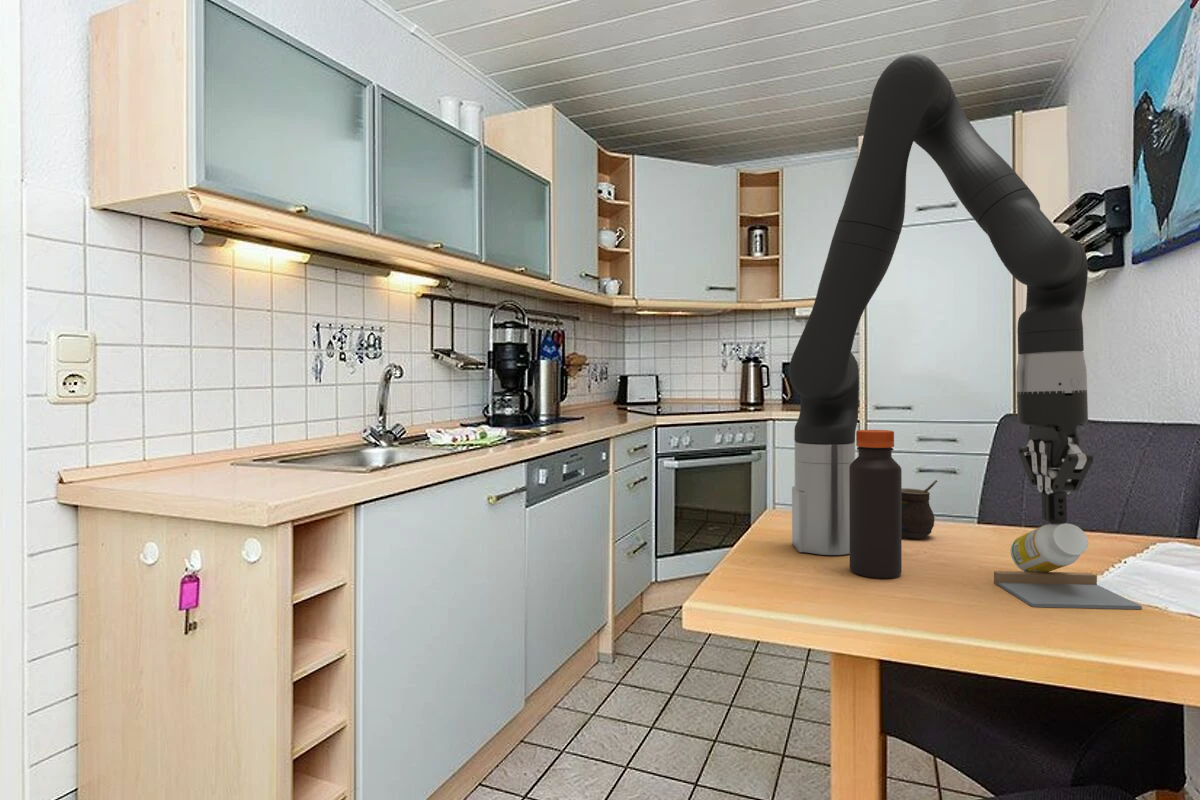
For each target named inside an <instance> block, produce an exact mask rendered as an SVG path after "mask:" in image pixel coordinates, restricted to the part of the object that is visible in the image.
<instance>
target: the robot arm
mask: <svg viewBox="0 0 1200 800" xmlns="http://www.w3.org/2000/svg"><path fill="white" fill-rule="evenodd" d="M869 103H870V104H869V109H868V112H867V113H868V114H867V119H866V124H865V128H864V132H863V137H862V141H861V145H860V146H861V147H860V150H859V154H858V157H857V161H856V165H855V167H854V171H853V173H852V177H851V181H850V183H849V187H848V190H847V194H846V196H845V200H844V201H843V202H844V203H843V205H842V208H841V211H840V214H839V217H838V220H837V223H836V226H835V230H834V233H833V236H832V238H831V243H830V245H829V250H828V253H827V257H826V260H825V263H824V267H823V270H822V273H821V277H820V281H819V284H818V288H817V292H816V295H815V296H816V297H815V299H814V303H813V306H812V309H811V312H810V314H809V317H808V318H807V319H808V320H807V321H806V324H805V326H804V328H803V331H802V333H801V335H800V338H799V340H798V343H797V345H796V347H795V349H794V351H793V354H792V356H791V360H790V363H789V366H788V367H789V368H788V377H789V381H790V384H791V385H792V387H793V389H794V390H795V392H796V393H797V394H798V395H800V407H799V408H800V409H799V410H800V411H799V416H798V419H797V421H796V423H795V426H794V436H793V438H794V486H792V488H791V523H792V524H791V537H792V538H791V541H792V542H791V544H792V545H793V546H794V548H795V549H796V550H797V551H798V553H807V554H808V553H809V554H815V555H823V556H842V555H843V556H844V555H850V520H849V467H850V464H851V463H852V462H853V461H854V460H855V459H856V431H857V426H858V422H859V393H860V391H859V389H860V380H859V379H860V374H859V373H860V372H859V365H858V362H857V360H856V356H855V355H854V353H853V352H852V348H853V345H854V340H855V336H856V333H857V329H858V327H859V323H860V321H861V319H862V316H863V313H864V311H865V309H866V307H867V306H868V305H869V303H870V301H871V299H872V297H873V296H874V294H875V292H876V291H877V290H878V288H879V286H880V285H881V283H882V281H883V279H884V277H885V275H886V273H887V272H888V269H889V267H890V265H891V262H892V260H893V257H894V254H895V251H896V248H897V245H898V241H899V239H900V236H901V233H902V229H903V225H904V220H905V211H906V199H907V197H906V195H907V169H908V163H909V162H908V161H909V159H910V158H909V157H910V154H911V153H910V152H911V150H912V148H913V147H912V146H913V144H914V143H915V144H917V146H919V147H920V148H921V149H922V150H923V151H925V152H926V153H927V155H928V156H930V157H931V158H932V160H933V161H934V162H935V163H936V164H937V166H938V167H939V169H940V170H941V171H942V173H943V175H944V176H945V178H946V180H947V182H948V183H949V186H951V188H952V190H953V192H954V194H955V196H957V198H958V200H959V201H960V202H961V204H962V205H963V207H964V208H965V209H966V211H967V212H968V213H969V215H970V216H971V217H972V219H974V221H975V222H976V223H977V225H978V226H979V227H980V228H981V230H983V232H984V233H985V234H986V235H987V236H988V239H990V243H991V244H992V246H993V248H994V250H995V252H996V254H997V256H998V257H999V259H1000V260H1001V263H1003V265H1004V267H1005V268H1006V269H1007V271H1008V272H1009V273H1010V275H1011V276H1012V277H1013V278H1014V279H1016V281H1018V282H1019V283H1020V284H1023V285H1025V286H1026V300H1025V301H1026V302H1025V310H1024V311H1023V312H1022V313H1020V316H1019V317H1018V320H1017V331H1016V332H1017V364H1016V374H1015V377H1016V379H1015V381H1016V410H1017V412H1016V414H1017V423H1018V424H1019V425H1020V426H1026V427H1029V430H1028V432H1027V433H1028V434H1027V442H1028V443H1027V445H1026V446H1018V448H1017V453H1018V455H1019V456H1018V457H1020V461H1021V463H1022V466H1023V468H1024V471H1025V473H1026V475H1027V478H1028V480H1029V483H1030V484H1031V486H1033V487H1034V486H1035V487H1037V490H1038V492H1039V493H1041V519H1042V521H1043V522H1046V523H1048V524H1059V525H1060V524H1064V523H1068V522H1067V521H1068V512H1067V511H1068V508H1067V507H1068V506H1067V495H1069V494H1070V493H1071V492H1078V491H1079V490H1080V488H1081V486H1082V484H1083V481H1084V480H1085V478H1086V476H1087V474H1088V472H1089V470H1090V468H1091V466H1092V464H1093V462H1094V457H1093V454H1091V453H1084V452H1083V451H1082V450H1081V448H1080V447H1079V446H1080V441H1081V440H1080V437H1079V434H1078V433H1079V432H1078V431H1077V429H1078V427H1079V426H1084V425H1087V423H1088V421H1089V412H1088V411H1089V410H1088V406H1089V405H1088V373H1087V365H1086V360H1085V353H1084V350H1085V349H1084V347H1085V346H1084V326H1083V309H1084V305H1085V301H1086V292H1087V286H1088V278H1089V277H1088V276H1089V275H1088V274H1089V273H1088V272H1089V265H1088V264H1089V263H1088V257H1087V254H1086V251H1085V248H1084V247H1083V246H1082V244H1081V243H1080V242H1079V241H1077V240H1076V239H1074V238H1071V237H1070V236H1068V235H1067V236H1066V235H1064V234H1063V233H1062V232H1061V231H1060V230H1059V229H1058V228H1057V227H1056V226H1055V225H1054V224H1053V223H1052V222H1051V220H1050V219H1049V217H1047V215H1046V214H1045V213H1044V212H1043V211H1042V210H1041V204H1040V202H1039V200H1038V198H1037V196H1036V195H1035V193H1033V191H1032V190H1031V188H1030V187H1028V185H1027V184H1026V183H1025V182H1024V180H1023V179H1022V178H1021V177H1020V176H1019V175H1018V174H1017V172H1016V171H1015V170H1014V169H1013V168H1012V167H1011V166H1010V164H1009V163H1007V161H1006V160H1005V159H1003V157H1002V156H1001V155H999V154H998V152H997V151H995V150H994V149H993V148H992V146H990V145H989V144H988V143H987V142H986V141H985V140H984V139H983V137H982V136H981V135H980V134H979V133H978V132H977V130H976V129H975V127H974V126H973V125H972V124H971V122H970V120H969V119H968V117H967V116H966V114H965V111H964V109H963V108H962V106H961V104H960V102H959V100H958V98H957V96H956V94H955V92H954V90H953V87H952V84H951V81H950V80H949V78H948V77H947V75H946V74H945V73H944V72H943V71H942V70H941V69H940V67H939V66H938V65H937V64H936V63H935V62H934V61H933V60H932V59H931V58H929V57H928V56H926V55H924V54H922V53H918V52H917V53H916V52H910V53H906V54H903V55H900V56H899V57H897V58H896V59H894V60H893V61H892V62H890V63H889V65H888V66H887V67H886V68H885V69H884V70H883V71H882V72H881V75H880V76H879V77H878V80H877V82H876V84H875V86H874V89H873V92H872V95H871V100H870V102H869Z"/></svg>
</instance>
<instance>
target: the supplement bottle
mask: <svg viewBox="0 0 1200 800" xmlns="http://www.w3.org/2000/svg"><path fill="white" fill-rule="evenodd" d="M1011 543H1012V544H1011V546H1010V556H1011V559H1012V561H1013V563H1014V564H1015V565H1016V567H1017V568H1018V569H1020V570H1021V571H1022V572H1054V571H1055V570H1058V569H1061V568H1064V567H1067V566H1070V565H1072V564H1075V562H1077V560H1079V559H1080V557H1081V555H1083V554H1084V553H1085V552H1086V551H1087V549H1088V547H1089V539H1088V536H1087V534H1086V533H1085V531H1083V529H1081V528H1080V527H1079V526H1077V525H1075V524H1074V523H1073V524H1072V523H1068V522H1066V523H1064V524H1052V523H1047V524H1045V525H1042V526H1039V527H1037V528H1036V529H1033V530H1032V531H1029V532H1027V533H1025V534H1022V535H1020V536H1019V537H1017V538H1015V540H1013V542H1011Z"/></svg>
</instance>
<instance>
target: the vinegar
mask: <svg viewBox="0 0 1200 800" xmlns="http://www.w3.org/2000/svg"><path fill="white" fill-rule="evenodd" d="M855 447H856V450H857V451H858V456H857V457H855V460H854V461H853V462H852V463H851V464H850V467H849V520H850V554H849V569H850V571H851V572H852V573H853V574H855V575H857V576H861V577H865V578H870V579H871V578H872V579H882V580H883V579H896V578H898V577H900V576H901V574H902V566H903V565H902V564H903V563H902V560H903V559H902V556H903V554H902V553H903V551H902V543H903V542H902V538H903V537H902V474H903V473H902V467H901V465H900V464H898V462H897V461H896V460H895V459H894V458H893V457H892V451H894V447H895V431H893V430H888V429H858V430H857V429H856V431H855Z"/></svg>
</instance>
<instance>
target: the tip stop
mask: <svg viewBox="0 0 1200 800" xmlns="http://www.w3.org/2000/svg"><path fill="white" fill-rule="evenodd" d="M993 583H994V585H997V587H1000V588H1001V589H1003V590H1005V591H1006V592H1008V593H1009V594H1011V595H1013V596H1015V597H1016V598H1017V599H1019V600H1020V601H1022V602H1024V603H1025V604H1026V605H1027V604H1028V605H1029V606H1030V607H1031V608H1064V609H1066V608H1067V609H1069V608H1070V609H1104V610H1105V609H1108V610H1109V609H1111V610H1113V609H1114V610H1115V609H1116V610H1118V609H1119V610H1143V606H1142V605H1141V604H1138V603H1136V602H1134V601H1133V600H1131V599H1128V598H1126V597H1124V596H1122V595H1120V594H1118V593H1116V592H1113V591H1111V590H1109V589H1107V588H1105V587H1103V586H1101V585H1098V575H1097V574H1095V573H1092V572H1071V571H1070V572H1069V571H1065V572H1064V571H1050V572H1024V571H1022V570H1021V571H1018V570H1017V571H1015V570H1013V571H1012V570H1010V571H1009V570H1007V571H1006V570H994V571H993Z"/></svg>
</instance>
